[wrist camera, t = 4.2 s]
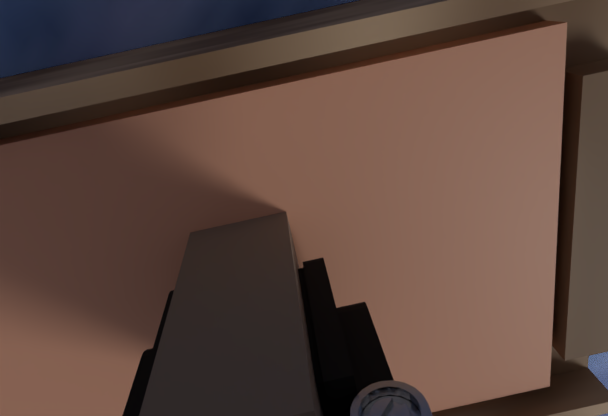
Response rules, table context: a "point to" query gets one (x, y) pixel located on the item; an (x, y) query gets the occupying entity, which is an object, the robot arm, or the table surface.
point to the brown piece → (291, 234)
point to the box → (366, 45)
